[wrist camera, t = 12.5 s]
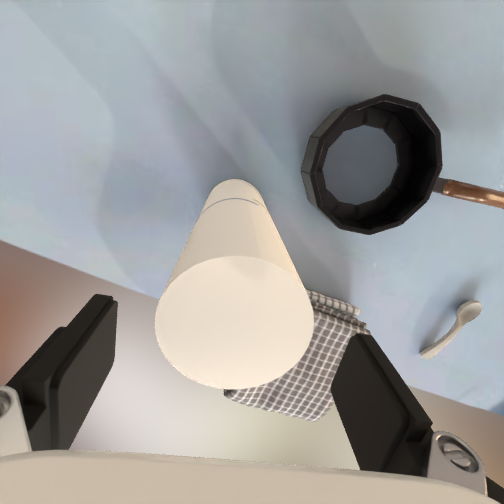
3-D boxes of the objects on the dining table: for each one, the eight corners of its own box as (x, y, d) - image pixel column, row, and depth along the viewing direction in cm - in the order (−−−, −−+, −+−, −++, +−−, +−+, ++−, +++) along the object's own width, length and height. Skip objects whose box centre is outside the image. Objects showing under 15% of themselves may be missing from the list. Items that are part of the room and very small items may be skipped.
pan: (322, 88, 32) (335, 80, 28) (516, 140, 35) (554, 140, 31) (289, 211, 37) (296, 220, 33) (462, 247, 40) (489, 259, 36)
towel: (221, 368, 45) (218, 411, 38) (269, 269, 40) (276, 298, 32) (306, 392, 48) (319, 437, 41) (362, 303, 43) (388, 337, 35)
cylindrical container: (215, 171, 34) (174, 234, 11) (271, 189, 36) (339, 281, 12) (200, 226, 37) (140, 373, 14) (253, 241, 38) (282, 401, 15)
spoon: (481, 301, 43) (491, 309, 42) (426, 355, 48) (433, 364, 46) (466, 293, 43) (476, 301, 41) (413, 348, 47) (419, 358, 45)
